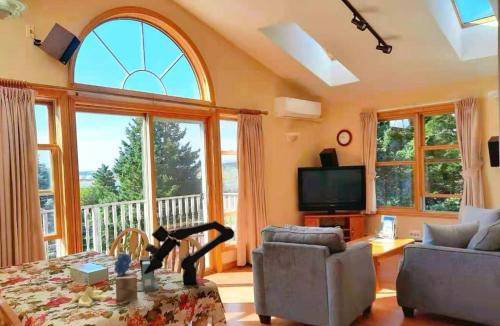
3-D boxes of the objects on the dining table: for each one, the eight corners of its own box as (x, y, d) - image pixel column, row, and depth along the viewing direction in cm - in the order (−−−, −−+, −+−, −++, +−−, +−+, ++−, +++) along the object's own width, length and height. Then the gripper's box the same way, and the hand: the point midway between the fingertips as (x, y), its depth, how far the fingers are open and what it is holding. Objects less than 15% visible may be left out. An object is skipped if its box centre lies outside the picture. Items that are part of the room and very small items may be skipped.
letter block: (153, 284, 200) (152, 260, 199) (153, 287, 195) (152, 263, 194) (142, 285, 198) (142, 261, 198) (142, 288, 193) (142, 264, 193)
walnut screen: (137, 297, 182) (136, 276, 182) (136, 299, 180) (135, 277, 180) (117, 298, 182) (117, 277, 182) (116, 300, 179) (115, 278, 179)
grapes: (126, 270, 229) (125, 250, 229) (134, 272, 225) (133, 251, 225) (109, 275, 219) (109, 254, 219) (117, 277, 215) (117, 255, 215)
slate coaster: (157, 283, 203) (157, 282, 203) (158, 289, 193) (158, 288, 193) (137, 285, 200) (137, 284, 200) (137, 291, 190) (137, 290, 190)
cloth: (97, 290, 196) (96, 278, 196) (118, 297, 185) (118, 284, 185) (52, 304, 179) (51, 290, 178) (73, 313, 167) (72, 298, 167)
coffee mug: (151, 278, 211) (151, 260, 211) (136, 278, 213) (136, 260, 213) (160, 272, 222) (160, 255, 222) (146, 272, 224) (146, 254, 224)
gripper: (154, 234, 206) (133, 257, 204) (154, 241, 188) (131, 266, 186) (169, 248, 208) (149, 270, 206) (172, 256, 190) (149, 281, 188)
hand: (144, 271), depth 196 cm, fingers open, 6 cm apart
